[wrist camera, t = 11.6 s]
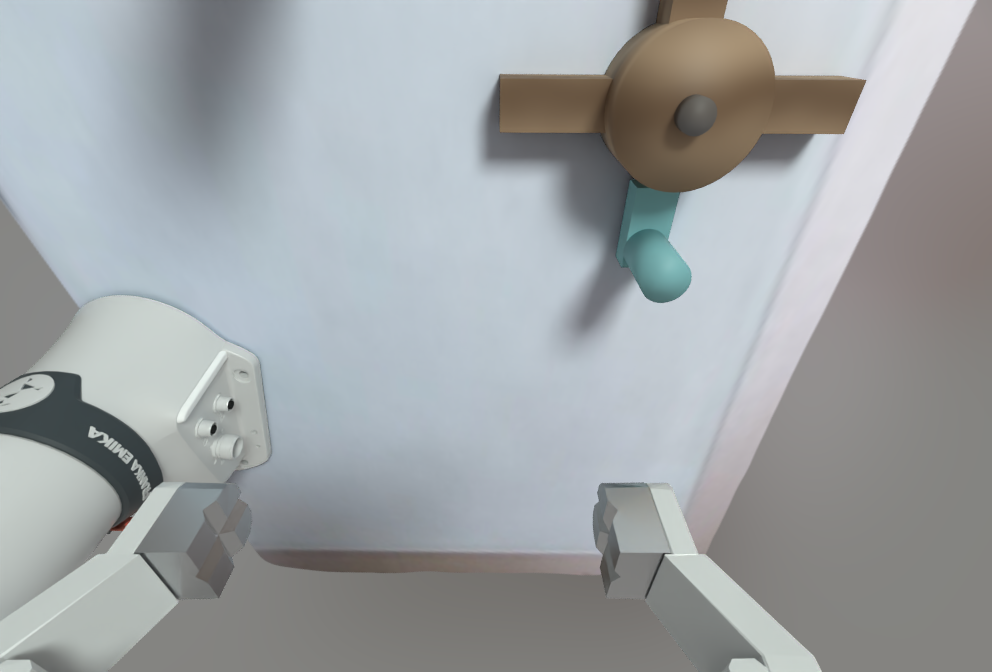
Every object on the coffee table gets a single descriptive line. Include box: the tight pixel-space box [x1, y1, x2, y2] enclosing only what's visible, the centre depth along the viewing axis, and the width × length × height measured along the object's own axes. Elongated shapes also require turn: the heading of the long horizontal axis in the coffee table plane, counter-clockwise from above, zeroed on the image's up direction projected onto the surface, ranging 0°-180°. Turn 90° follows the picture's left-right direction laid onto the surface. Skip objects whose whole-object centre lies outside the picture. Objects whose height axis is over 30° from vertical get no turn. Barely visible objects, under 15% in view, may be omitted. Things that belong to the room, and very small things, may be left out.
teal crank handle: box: [616, 179, 692, 303], centre depth 31 cm, size 6×3×7 cm, turn 179°
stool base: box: [500, 0, 866, 193], centre depth 25 cm, size 16×22×6 cm
